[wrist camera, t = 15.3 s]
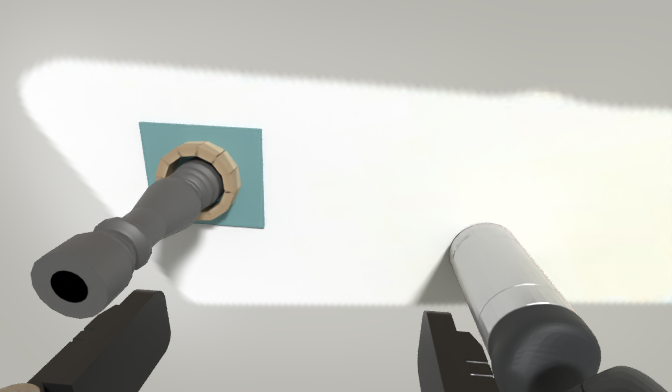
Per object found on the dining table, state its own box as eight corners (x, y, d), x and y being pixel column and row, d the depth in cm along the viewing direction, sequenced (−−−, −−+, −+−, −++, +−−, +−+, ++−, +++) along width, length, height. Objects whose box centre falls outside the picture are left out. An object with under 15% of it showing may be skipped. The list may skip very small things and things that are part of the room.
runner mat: (261, 128, 48) (260, 129, 47) (264, 226, 53) (263, 228, 52) (140, 121, 48) (138, 122, 48) (155, 219, 53) (153, 220, 53)
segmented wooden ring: (251, 162, 49) (244, 169, 46) (225, 222, 52) (217, 232, 50) (180, 127, 48) (169, 132, 45) (158, 191, 51) (147, 199, 49)
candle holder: (174, 177, 50) (12, 285, 27) (200, 146, 48) (51, 232, 25) (210, 207, 52) (85, 335, 28) (237, 177, 50) (127, 288, 27)
